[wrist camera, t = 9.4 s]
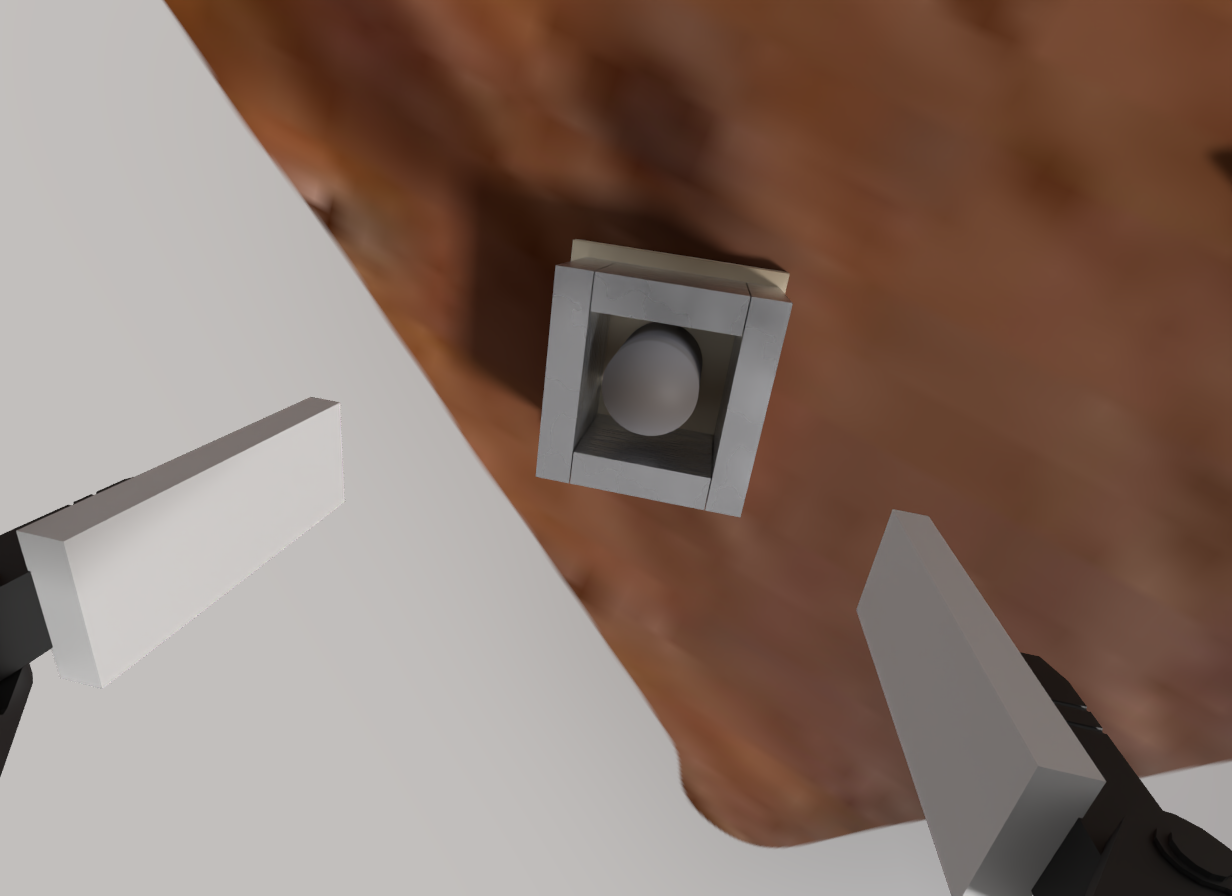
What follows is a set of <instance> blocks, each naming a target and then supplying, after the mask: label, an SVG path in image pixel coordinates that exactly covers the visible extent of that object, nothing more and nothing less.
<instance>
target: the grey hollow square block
mask: <svg viewBox="0 0 1232 896" xmlns="http://www.w3.org/2000/svg"><path fill="white" fill-rule="evenodd" d="M792 304H793V303H792V302H791V301H790V299H789V298H788V297H787V296H786V295H785V293H784V292H783V291H782V290H781V288H780V287H774V286H768V285H761V284H755V283H749V282H746V283H745V282H742V281H736V280H730V279H723V278H717V277H711V276H704V275H698V274H692V273H685V272H679V271H673V270H666V269H660V268H654V267H647V266H641V265H635V264H628V263H622V262H616V261H609V260H603V259H597V258H590V257H584V258H580V259H576V260H573V261H569V262H566V263H562V264H558V265H556V267H555V278H554V288H553V299H552V309H551V320H550V331H549V341H548V352H547V363H546V373H545V384H544V395H543V405H542V416H541V426H540V437H539V448H538V458H537V469H536V477H540V478H545V479H550V480H555V481H560V482H566V483H569V482H570V483H571V484H576V485H581V486H586V487H591V488H596V489H601V490H606V491H611V492H616V493H621V494H626V495H631V496H636V497H641V498H646V499H651V500H656V501H661V502H666V503H671V504H676V505H681V506H686V507H691V508H696V509H701V510H704V508H705V510H706V511H711V512H716V513H721V514H726V515H731V516H736V517H740V516H741V512H742V508H743V504H744V500H745V496H746V492H747V488H748V484H749V480H750V476H751V471H752V467H753V463H754V459H755V455H756V451H757V447H758V443H759V439H760V435H761V431H762V427H763V422H764V418H765V414H766V410H767V406H768V402H769V398H770V394H771V390H772V386H773V382H774V378H775V373H776V369H777V365H778V361H779V357H780V353H781V349H782V345H783V341H784V337H785V333H786V329H787V324H788V320H789V316H790V312H791V308H792ZM610 315H616V316H622V317H628V318H634V319H640V320H646V321H652V322H658V323H664V324H670V325H676V326H682V327H688V328H694V329H700V330H706V331H712V332H718V333H724V334H730V335H735V338H734V343H733V347H732V352H731V357H730V361H729V366H728V371H727V376H726V380H725V385H724V390H723V394H722V399H721V404H720V408H719V413H718V418H717V422H716V427H715V432H714V437H713V434H707V433H702V432H696V431H691V430H686V429H680V428H677V429H675V430H674V431H672V432H669V433H667V434H663V435H657V436H646V435H640V434H636V433H633V432H631V431H629V430H627V429H625V428H624V427H622V426H621V425H619V424H618V423H617V422H616V421H615V420H614V419H613V417H612V416H610V415H605V414H599V413H598V405H599V398H600V390H601V383H602V375H603V367H604V360H605V352H606V345H607V337H608V329H609V322H610ZM597 413H598V415H597ZM705 503H706V505H705Z"/></svg>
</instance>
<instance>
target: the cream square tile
mask: <svg viewBox="0 0 1232 896" xmlns="http://www.w3.org/2000/svg"><path fill="white" fill-rule="evenodd" d="M584 257H590V258H597V259H603V260H609V261H616V262H622V263H628V264H635V265H641V266H647V267H654V268H660V269H666V270H673V271H679V272H685V273H692V274H698V275H704V276H711V277H717V278H723V279H730V280H736V281H742V282H745V283H746V282H749V283H755V284H761V285H768V286H774V287H780V288H781V290H782V291H783V292H784V293H785V291H786V287H787V283H788V279H789V273H788V272H784V271H778V270H771V269H765V268H758V267H752V266H746V265H739V264H733V263H727V262H720V261H714V260H707V259H701V258H695V257H688V256H682V255H676V254H669V253H663V252H656V251H650V250H644V249H637V248H631V247H625V246H618V245H612V244H605V243H599V242H593V241H586V240H580V239H575V240H573V244H572V254H571V261H573V260H576V259H580V258H584ZM734 338H735V335H730V334H724V333H718V332H712V331H706V330H700V329H694V328H688V327H682V326H676V325H670V324H664V323H658V322H652V321H646V320H640V319H634V318H628V317H622V316H616V315H610V322H609V329H608V337H607V345H606V352H605V360H604V367H603V375H602V383H601V390H600V398H599V405H598V413H599V414H605V415H610V416H612V417H613V419H614V420H615V421H616V422H617V423H618V424H619V425H621V426H622V427H624V428H625V429H627V430H629V431H631V432H633V433H636V434H640V435H646V436H657V435H663V434H667V433H669V432H672V431H674V430H675V429H677V428H680V429H686V430H691V431H696V432H702V433H707V434H713V437H714V432H715V427H716V422H717V418H718V413H719V408H720V404H721V399H722V394H723V390H724V385H725V380H726V376H727V371H728V366H729V361H730V357H731V352H732V347H733V343H734ZM598 413H597V415H598Z"/></svg>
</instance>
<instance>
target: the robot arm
mask: <svg viewBox="0 0 1232 896" xmlns="http://www.w3.org/2000/svg"><path fill="white" fill-rule="evenodd" d="M342 452H343V451H342V432H341V409H340V403H339V402H335V401H330V400H324V399H319V398H314V397H310V398H308V399H305V400H303V401H301V402H299V403H297V404H294V405H292V406H290V407H288V408H286V409H283V410H281V411H279V412H277V413H275V414H272V415H270V416H268V417H266V418H263V419H262V420H259V421H257V422H255V423H252V424H250V425H248V426H246V427H244V428H241V429H240V430H237V431H235V432H233V433H230V434H228V435H226V436H224V437H222V438H219V439H217V440H215V441H213V442H211V443H208V444H206V445H204V446H202V447H200V448H197V449H195V450H193V451H191V452H189V453H186V454H184V455H182V456H180V457H177V458H175V459H173V460H171V461H169V462H167V463H164V464H162V465H160V466H158V467H156V468H153V469H151V470H149V471H147V472H144V473H142V474H140V475H138V476H136V477H132V478H128V479H124V480H122V481H120V482H118V483H115V484H113V485H111V486H109V487H106V488H104V489H102V490H100V491H97V493H96V495H92V494H91V495H89V496H86V497H84V498H82V499H80V500H78V501H75V502H74V504H73V505H67V506H65V507H62V508H60V509H57V510H55V511H53V512H51V513H49V514H46V515H44V516H42V517H40V518H37V519H35V520H33V521H31V522H29V523H27V524H24V525H22V526H20V527H17V528H15V529H13V530H11V531H9V532H6V533H4V534H2V535H0V776H1V773H2V771H3V768H4V765H5V762H6V759H7V756H8V753H9V750H10V747H11V745H12V742H13V739H14V736H15V733H16V730H17V727H18V724H19V721H20V719H21V716H22V713H23V710H24V707H25V704H26V701H27V698H28V695H29V692H30V689H31V687H32V684H33V676H32V671H31V667H30V664H29V663H30V662H31V661H33V660H34V659H36V658H37V657H39V656H41V655H42V654H43V653H45V652H47V651H48V650H49V649H51V650H52V653H53V656H54V660H55V663H56V666H57V670H58V673H59V677H60V678H62V679H66V680H70V681H73V682H78V683H81V684H85V685H89V686H93V687H97V688H101V689H103V688H104V687H105V686H107V685H108V684H109V683H110V682H112V681H113V680H115V679H116V678H117V677H119V676H120V675H121V674H122V673H124V672H125V671H126V670H127V669H129V668H130V667H132V666H133V665H134V664H135V663H137V662H138V661H139V660H141V659H142V658H143V657H144V656H146V655H147V654H148V653H150V652H151V651H152V650H154V649H155V648H156V647H157V646H159V645H160V644H161V643H162V642H164V641H165V640H167V639H168V638H169V637H170V636H172V635H173V634H174V633H175V632H177V631H178V630H179V629H181V628H182V627H183V626H184V625H186V624H187V623H188V622H190V621H191V620H192V619H194V618H195V617H196V616H198V615H199V614H200V613H201V612H203V611H204V610H205V609H207V608H208V607H209V606H211V605H212V604H213V603H215V602H216V601H217V600H218V599H220V598H221V597H222V596H223V595H225V594H226V593H227V592H228V591H230V590H231V589H233V588H234V587H235V586H237V585H238V584H239V583H240V582H242V581H243V580H244V579H246V578H247V577H248V576H249V575H251V574H252V573H253V572H255V571H256V570H257V569H259V568H260V567H261V566H262V565H264V564H265V563H266V562H268V561H269V560H270V559H271V558H273V557H274V556H275V555H277V554H278V553H279V552H281V551H282V550H283V549H285V548H286V547H287V546H288V545H290V544H291V543H292V542H293V541H295V540H296V539H297V538H299V537H300V536H301V535H303V534H304V533H305V532H307V531H308V530H309V529H310V528H312V527H313V526H314V525H316V524H317V523H318V522H319V521H321V520H322V519H323V518H325V517H326V516H327V515H328V514H330V513H331V512H332V511H334V510H335V509H336V508H338V507H339V506H340V505H342V504H343V503H344V502H345V495H344V472H343V453H342ZM857 613H858V616H859V619H860V622H861V625H862V628H863V631H864V634H865V637H866V640H867V643H868V646H869V649H870V652H871V655H872V658H873V661H874V664H875V667H876V670H877V673H878V676H879V679H880V682H881V685H882V688H883V691H884V694H885V697H886V700H887V703H888V706H889V709H890V712H891V715H892V718H893V721H894V724H895V727H896V730H897V733H898V736H899V739H900V742H901V745H902V748H903V751H904V754H905V757H906V760H907V763H908V766H909V769H910V772H911V775H912V778H913V781H914V784H915V787H916V790H917V793H918V796H919V799H920V802H921V805H922V808H923V812H924V815H925V818H926V821H927V823H928V827H929V829H930V832H931V835H932V839H933V841H934V844H935V847H936V851H937V854H938V857H939V860H940V862H941V866H942V868H943V871H944V875H945V878H946V881H947V883H948V887H949V890H950V893H951V896H1032V895H1033V896H1232V851H1231V850H1230V849H1229V848H1228V847H1226V846H1225V845H1224V844H1222V843H1221V842H1220V841H1218V840H1217V839H1216V838H1214V837H1213V836H1211V835H1210V834H1209V833H1207V832H1206V831H1205V830H1203V829H1202V828H1200V827H1198V826H1196V825H1194V824H1192V823H1190V822H1188V821H1187V820H1185V819H1182V818H1181V817H1179V816H1177V815H1175V814H1172V813H1169V812H1165V811H1163V810H1162V809H1161V808H1160V807H1159V805H1158V803H1157V802H1156V801H1155V799H1154V798H1153V797H1152V795H1151V794H1150V793H1149V791H1148V790H1147V788H1146V787H1145V786H1144V784H1143V783H1142V782H1141V780H1140V779H1139V777H1138V776H1137V775H1136V773H1135V772H1134V771H1133V769H1132V768H1131V767H1130V765H1129V764H1128V762H1127V761H1126V760H1125V758H1124V757H1123V756H1122V754H1121V753H1120V752H1119V750H1118V749H1117V747H1116V746H1115V745H1114V743H1113V742H1112V741H1111V739H1110V738H1109V736H1108V735H1107V734H1104V733H1102V729H1103V728H1102V727H1101V726H1100V724H1099V723H1098V721H1097V720H1096V719H1095V717H1094V716H1093V715H1092V713H1091V712H1088V711H1087V710H1086V708H1087V706H1086V705H1085V704H1084V702H1083V701H1082V700H1081V698H1080V697H1079V695H1078V694H1077V693H1076V691H1075V690H1074V689H1073V687H1072V686H1071V685H1070V683H1069V682H1068V681H1067V680H1066V679H1065V678H1064V677H1063V676H1061V675H1060V674H1059V673H1058V672H1057V671H1056V670H1054V669H1053V668H1052V667H1051V666H1050V665H1049V664H1047V663H1046V662H1045V661H1044V660H1043V659H1042V658H1040V657H1039V656H1035V655H1030V654H1025V653H1020V652H1019V651H1018V649H1017V648H1016V646H1015V645H1014V643H1013V642H1012V640H1011V639H1010V637H1009V636H1008V634H1007V633H1006V631H1005V630H1004V628H1003V627H1002V625H1001V624H1000V622H999V621H998V619H997V618H996V616H995V615H994V613H993V612H992V610H991V609H990V607H989V606H988V604H987V603H986V601H985V600H984V598H983V597H982V595H981V594H980V592H979V591H978V589H977V588H976V586H975V585H974V583H973V582H972V580H971V579H970V577H969V576H968V575H967V573H966V572H965V570H964V569H963V567H962V566H961V564H960V563H959V561H958V560H957V558H956V557H955V555H954V554H953V552H952V551H951V549H950V548H949V546H948V545H947V543H946V542H945V540H944V539H943V537H942V536H941V534H940V533H939V531H938V530H937V528H936V527H935V525H934V524H933V522H932V521H931V519H930V518H929V516H925V515H919V514H914V513H909V512H904V511H899V510H894V509H893V510H892V513H891V516H890V518H889V521H888V524H887V527H886V529H885V532H884V535H883V538H882V541H881V543H880V546H879V549H878V552H877V554H876V557H875V560H874V563H873V565H872V568H871V571H870V574H869V576H868V579H867V582H866V585H865V588H864V590H863V593H862V596H861V599H860V601H859V604H858V607H857Z"/></svg>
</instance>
